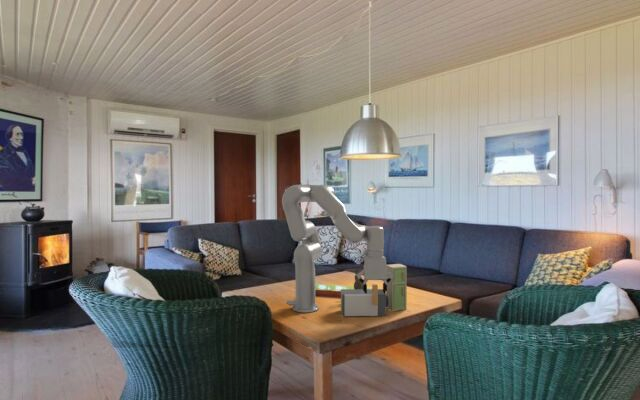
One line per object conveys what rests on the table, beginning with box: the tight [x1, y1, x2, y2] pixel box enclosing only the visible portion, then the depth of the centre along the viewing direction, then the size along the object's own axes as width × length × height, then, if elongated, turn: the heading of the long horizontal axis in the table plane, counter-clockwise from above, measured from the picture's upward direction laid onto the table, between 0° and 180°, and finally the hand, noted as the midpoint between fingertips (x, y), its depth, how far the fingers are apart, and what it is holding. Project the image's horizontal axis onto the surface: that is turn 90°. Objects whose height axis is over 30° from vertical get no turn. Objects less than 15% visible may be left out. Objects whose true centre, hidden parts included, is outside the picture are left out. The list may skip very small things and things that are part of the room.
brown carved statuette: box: [353, 269, 363, 289], centre depth 205 cm, size 12×6×18 cm, turn 34°
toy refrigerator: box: [386, 263, 408, 312], centre depth 193 cm, size 8×7×21 cm
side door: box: [344, 283, 379, 317], centre depth 180 cm, size 15×3×14 cm, turn 91°
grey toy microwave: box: [340, 288, 389, 317], centre depth 187 cm, size 22×9×11 cm, turn 91°
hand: (374, 292), depth 180 cm, fingers open, 7 cm apart
